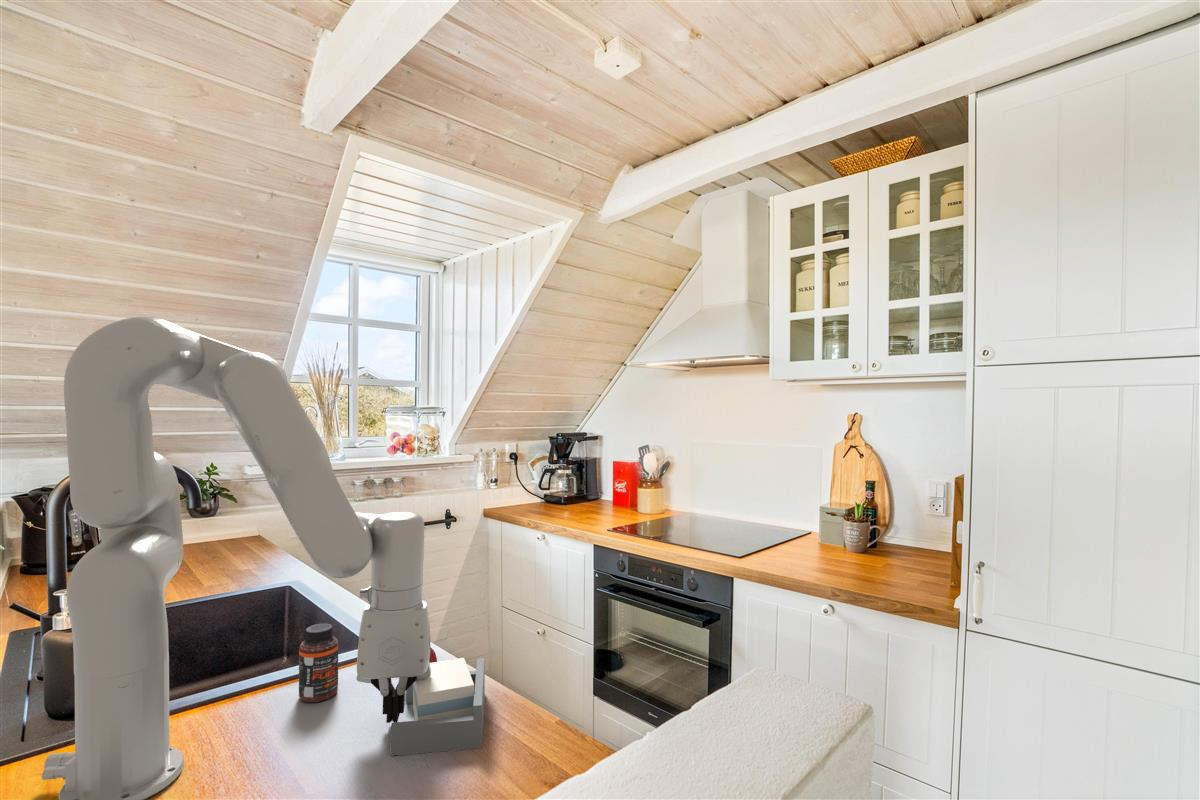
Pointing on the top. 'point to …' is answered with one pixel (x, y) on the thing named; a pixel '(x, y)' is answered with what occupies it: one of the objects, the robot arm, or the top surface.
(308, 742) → the top surface
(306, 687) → the supplement bottle
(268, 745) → the top surface
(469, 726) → the bay
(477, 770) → the top surface
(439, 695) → the carton
